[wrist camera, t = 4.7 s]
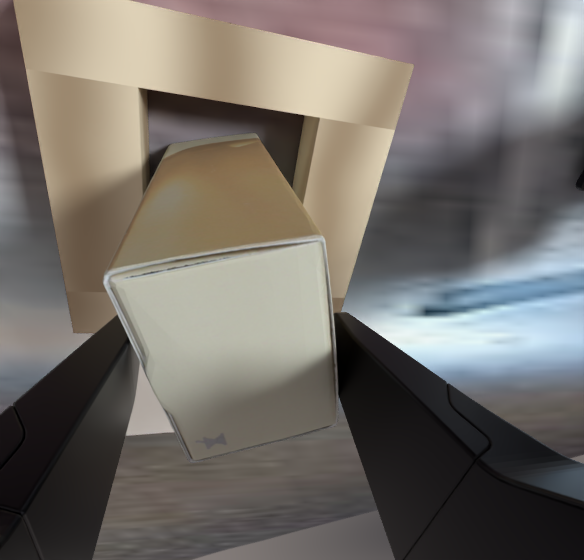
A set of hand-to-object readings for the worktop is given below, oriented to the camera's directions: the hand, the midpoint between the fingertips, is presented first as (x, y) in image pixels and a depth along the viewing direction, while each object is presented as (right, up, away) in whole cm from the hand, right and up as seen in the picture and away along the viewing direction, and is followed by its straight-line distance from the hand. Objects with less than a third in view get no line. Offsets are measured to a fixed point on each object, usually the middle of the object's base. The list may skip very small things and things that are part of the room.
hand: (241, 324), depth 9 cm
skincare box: (-2, +6, +9) cm, 11 cm away
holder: (-2, +6, +9) cm, 10 cm away
